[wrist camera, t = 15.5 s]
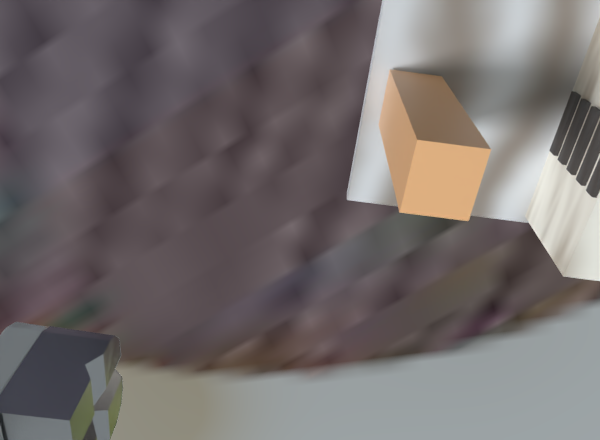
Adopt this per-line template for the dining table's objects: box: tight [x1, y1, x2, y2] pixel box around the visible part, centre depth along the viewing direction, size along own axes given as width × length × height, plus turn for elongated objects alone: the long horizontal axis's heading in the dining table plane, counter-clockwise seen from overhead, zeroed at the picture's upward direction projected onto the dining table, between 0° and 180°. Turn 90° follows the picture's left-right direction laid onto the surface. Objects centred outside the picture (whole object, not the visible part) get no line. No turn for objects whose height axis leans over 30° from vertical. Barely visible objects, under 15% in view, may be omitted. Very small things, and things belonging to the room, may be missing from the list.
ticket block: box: [347, 0, 600, 281], centre depth 36 cm, size 22×17×9 cm
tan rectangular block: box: [379, 69, 491, 221], centre depth 33 cm, size 4×4×13 cm
